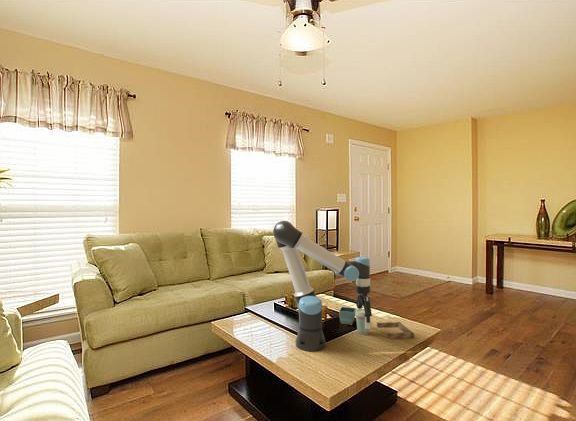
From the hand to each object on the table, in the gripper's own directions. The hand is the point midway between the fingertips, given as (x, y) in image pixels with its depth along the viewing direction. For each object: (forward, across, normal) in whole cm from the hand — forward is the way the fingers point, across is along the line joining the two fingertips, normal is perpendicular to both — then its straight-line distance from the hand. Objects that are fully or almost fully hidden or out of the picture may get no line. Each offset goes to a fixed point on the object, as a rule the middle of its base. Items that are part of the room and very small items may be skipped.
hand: (363, 324), depth 177 cm
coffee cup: (+5, 0, 0) cm, 5 cm away
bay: (+5, 0, -16) cm, 17 cm away
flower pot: (+5, +14, +6) cm, 16 cm away
